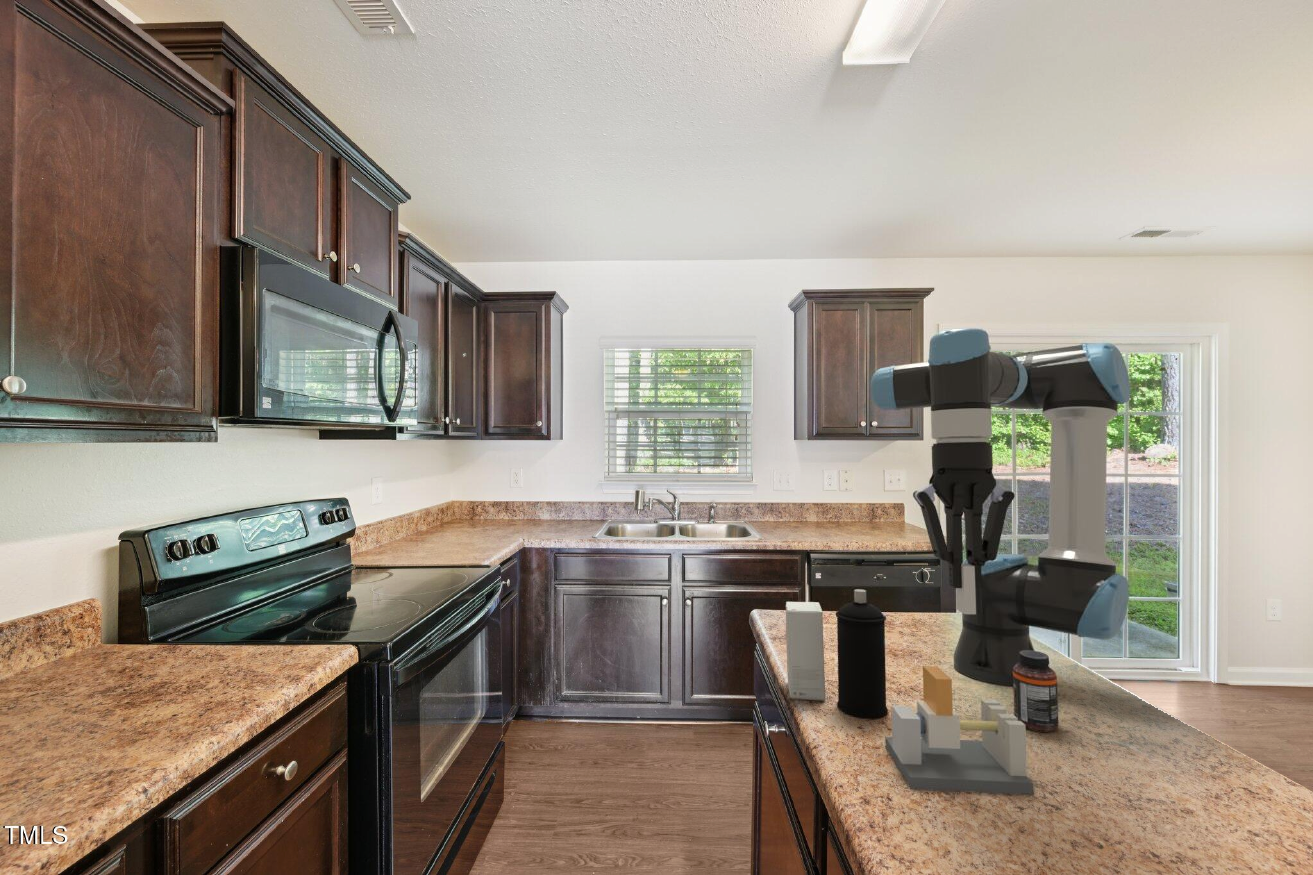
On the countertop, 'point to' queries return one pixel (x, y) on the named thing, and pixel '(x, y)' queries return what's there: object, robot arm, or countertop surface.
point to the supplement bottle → (1035, 692)
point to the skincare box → (805, 650)
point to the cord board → (963, 753)
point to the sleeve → (938, 710)
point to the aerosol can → (861, 659)
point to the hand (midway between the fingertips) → (966, 611)
